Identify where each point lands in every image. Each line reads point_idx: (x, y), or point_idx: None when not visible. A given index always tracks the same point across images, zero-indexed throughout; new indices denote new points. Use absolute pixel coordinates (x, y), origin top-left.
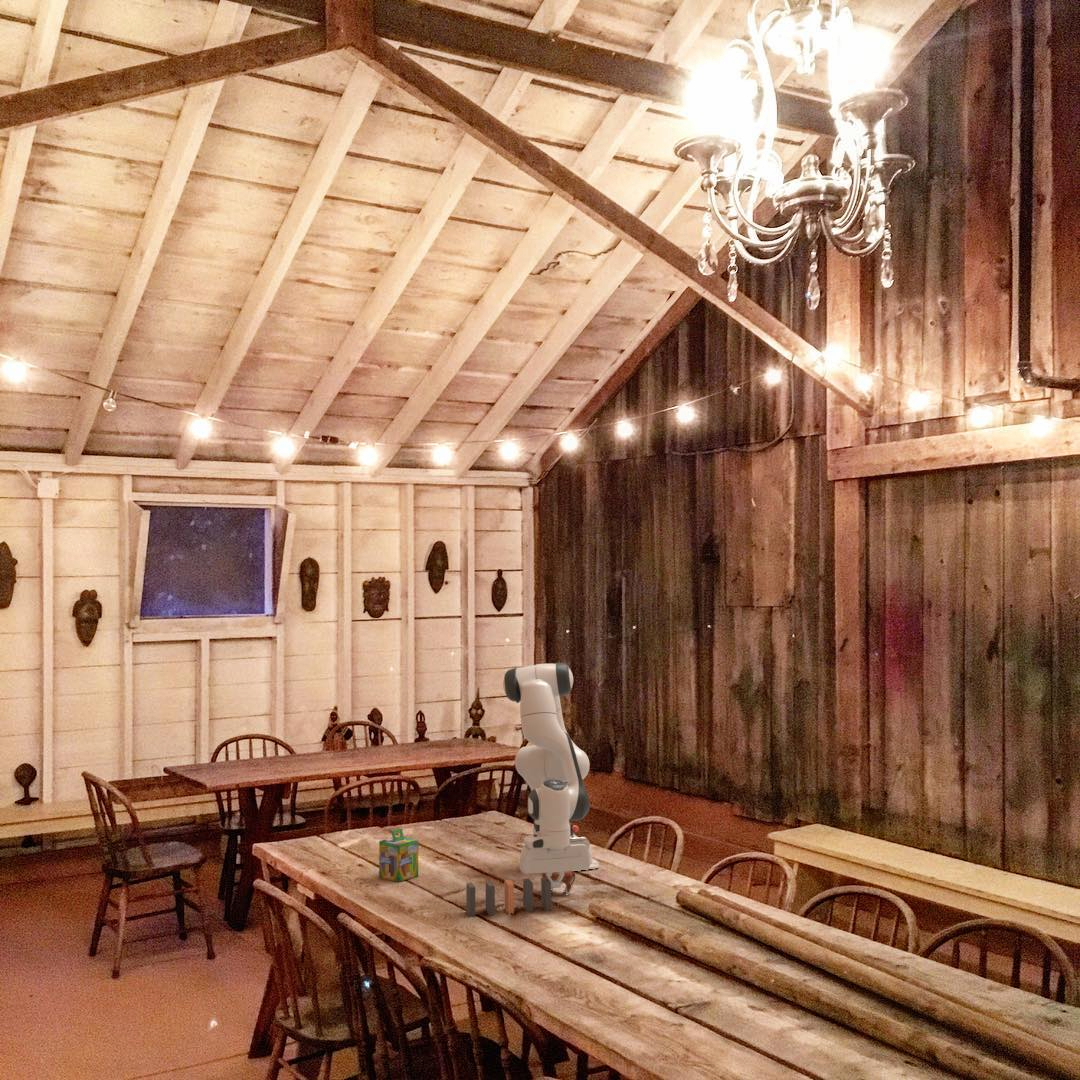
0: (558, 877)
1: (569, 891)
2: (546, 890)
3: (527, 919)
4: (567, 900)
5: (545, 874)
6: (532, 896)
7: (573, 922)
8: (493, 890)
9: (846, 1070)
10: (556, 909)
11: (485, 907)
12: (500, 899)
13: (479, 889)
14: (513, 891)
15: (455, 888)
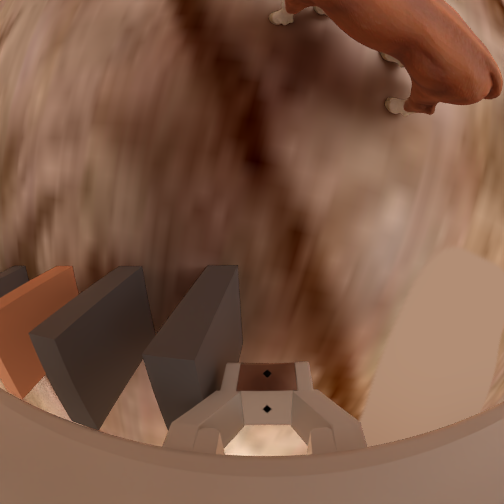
0: (307, 416)
1: (413, 112)
2: None
3: (138, 400)
4: (373, 198)
5: (171, 426)
6: (127, 379)
7: (285, 451)
8: None
9: None
10: (269, 334)
11: (8, 269)
12: (52, 127)
13: (40, 14)
14: (39, 379)
15: (2, 25)
